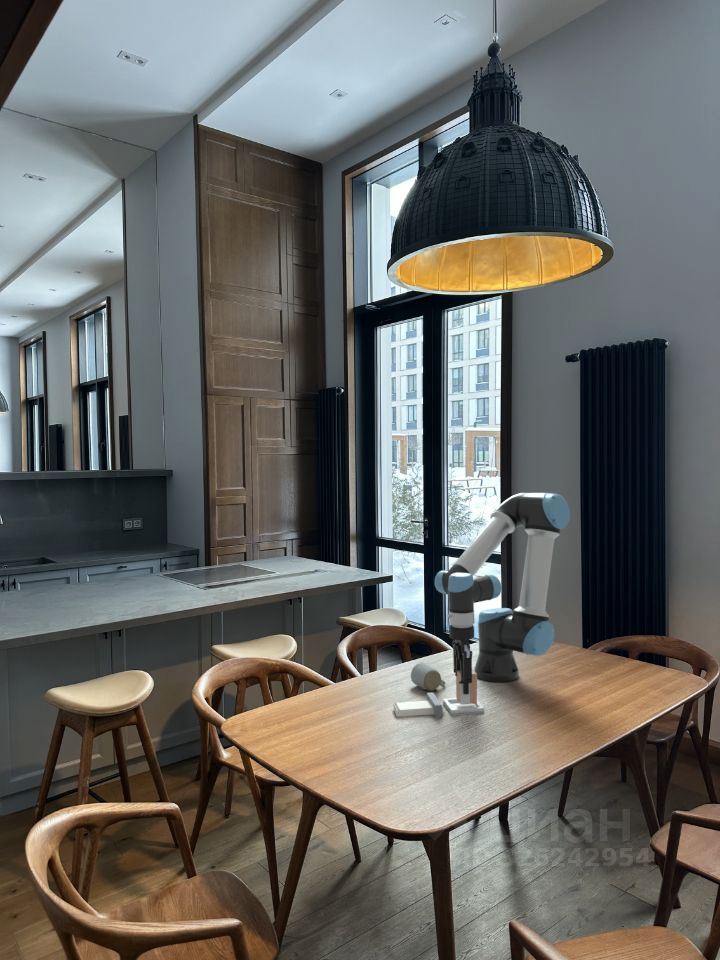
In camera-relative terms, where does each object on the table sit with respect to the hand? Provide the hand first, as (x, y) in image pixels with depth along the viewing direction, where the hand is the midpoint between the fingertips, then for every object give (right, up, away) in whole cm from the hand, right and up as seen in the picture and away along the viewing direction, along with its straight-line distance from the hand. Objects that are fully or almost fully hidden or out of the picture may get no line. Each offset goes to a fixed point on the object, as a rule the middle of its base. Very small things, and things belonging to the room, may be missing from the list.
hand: (463, 701), depth 208 cm
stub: (+1, 0, 0) cm, 1 cm away
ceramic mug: (-8, -2, +20) cm, 22 cm away
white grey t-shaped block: (-14, -3, -2) cm, 14 cm away
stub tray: (0, -2, 0) cm, 2 cm away
